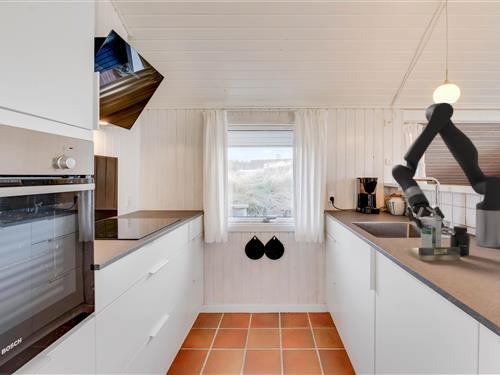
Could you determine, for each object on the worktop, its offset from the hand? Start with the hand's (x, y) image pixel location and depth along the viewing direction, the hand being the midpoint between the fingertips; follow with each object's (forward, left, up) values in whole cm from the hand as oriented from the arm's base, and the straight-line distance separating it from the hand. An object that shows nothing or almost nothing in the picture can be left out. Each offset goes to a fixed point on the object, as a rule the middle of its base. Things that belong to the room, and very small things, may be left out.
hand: (431, 227), depth 119 cm
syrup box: (0, -1, -10) cm, 10 cm away
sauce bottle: (-52, -25, -12) cm, 59 cm away
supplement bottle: (-13, +5, -12) cm, 19 cm away
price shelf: (0, 0, -12) cm, 12 cm away
